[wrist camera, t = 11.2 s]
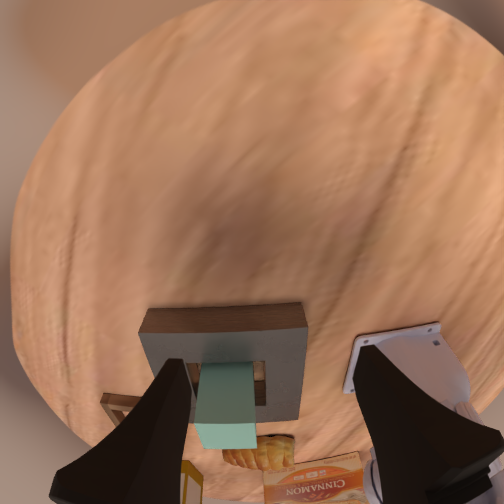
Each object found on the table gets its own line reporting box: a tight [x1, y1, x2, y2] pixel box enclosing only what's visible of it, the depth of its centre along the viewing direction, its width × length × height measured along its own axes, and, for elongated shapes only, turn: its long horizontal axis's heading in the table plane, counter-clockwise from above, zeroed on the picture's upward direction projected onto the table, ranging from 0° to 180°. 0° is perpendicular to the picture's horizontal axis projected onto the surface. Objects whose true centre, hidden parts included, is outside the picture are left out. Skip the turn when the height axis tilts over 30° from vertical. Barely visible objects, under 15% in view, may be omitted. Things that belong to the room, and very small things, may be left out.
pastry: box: [222, 435, 295, 471], centre depth 31 cm, size 9×7×4 cm
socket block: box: [138, 303, 308, 423], centre depth 24 cm, size 12×12×3 cm
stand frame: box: [100, 393, 141, 427], centre depth 28 cm, size 8×8×2 cm
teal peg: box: [194, 361, 257, 449], centre depth 21 cm, size 4×4×8 cm
